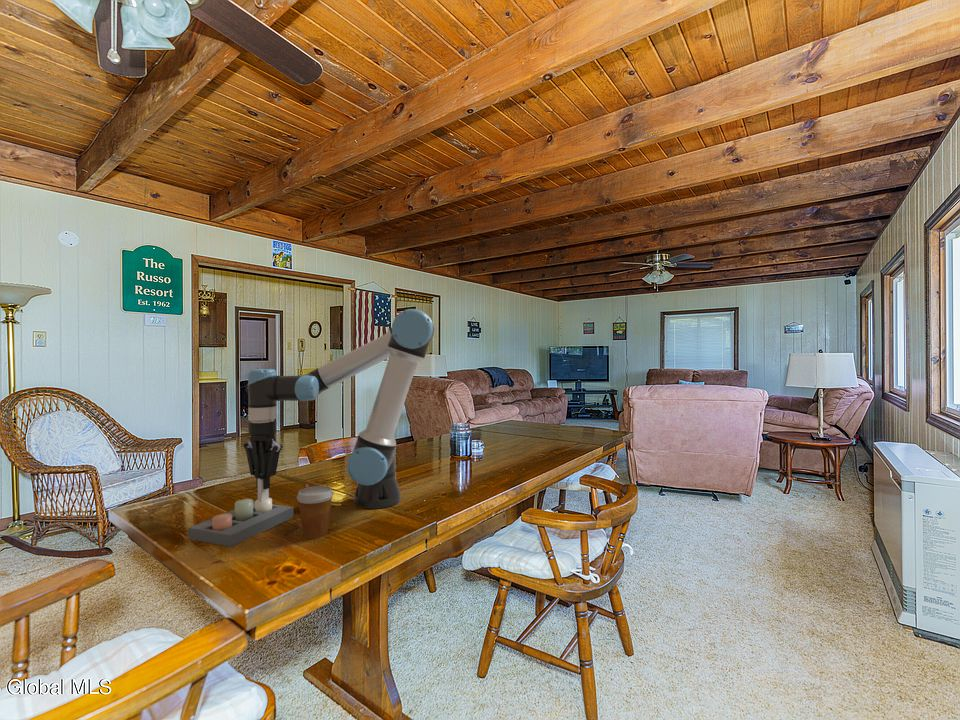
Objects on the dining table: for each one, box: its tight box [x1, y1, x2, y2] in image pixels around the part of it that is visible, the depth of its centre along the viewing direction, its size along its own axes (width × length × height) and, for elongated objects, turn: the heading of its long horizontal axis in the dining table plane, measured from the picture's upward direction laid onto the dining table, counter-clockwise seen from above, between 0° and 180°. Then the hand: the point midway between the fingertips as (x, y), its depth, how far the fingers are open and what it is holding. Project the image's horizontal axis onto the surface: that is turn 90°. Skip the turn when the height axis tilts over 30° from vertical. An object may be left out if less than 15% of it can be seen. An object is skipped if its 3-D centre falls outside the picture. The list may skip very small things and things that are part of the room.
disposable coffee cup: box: [296, 485, 335, 540], centre depth 122 cm, size 10×10×12 cm
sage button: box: [234, 498, 254, 522], centre depth 127 cm, size 5×5×5 cm
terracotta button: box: [211, 513, 232, 531], centre depth 121 cm, size 5×5×5 cm
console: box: [187, 501, 294, 548], centre depth 127 cm, size 15×22×3 cm
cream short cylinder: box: [254, 497, 273, 513], centre depth 134 cm, size 5×5×5 cm
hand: (263, 499), depth 134 cm, fingers closed
